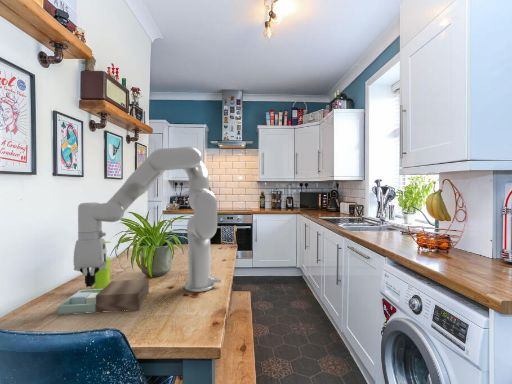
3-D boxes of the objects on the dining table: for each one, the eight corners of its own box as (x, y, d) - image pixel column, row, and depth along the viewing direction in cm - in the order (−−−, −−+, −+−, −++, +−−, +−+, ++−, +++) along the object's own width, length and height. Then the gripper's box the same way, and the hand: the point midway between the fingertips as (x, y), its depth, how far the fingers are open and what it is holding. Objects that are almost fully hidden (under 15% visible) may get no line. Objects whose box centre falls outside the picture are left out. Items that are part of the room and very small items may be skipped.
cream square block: (106, 299, 108) (106, 292, 108) (101, 304, 103) (101, 297, 103) (92, 300, 108) (91, 292, 108) (86, 305, 103) (86, 297, 103)
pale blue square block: (78, 292, 108) (78, 299, 108) (70, 297, 103) (70, 305, 103) (91, 292, 108) (91, 299, 108) (85, 297, 103) (85, 304, 103)
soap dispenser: (114, 286, 125) (114, 240, 125) (102, 291, 118) (102, 243, 118) (103, 285, 127) (103, 240, 127) (91, 290, 120) (90, 243, 120)
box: (111, 295, 114) (111, 288, 114) (95, 312, 98) (95, 304, 98) (79, 297, 112) (79, 289, 112) (58, 315, 96) (57, 306, 96)
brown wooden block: (148, 293, 116) (148, 279, 116) (138, 310, 100) (138, 293, 100) (112, 295, 114) (112, 280, 114) (96, 312, 98) (95, 295, 98)
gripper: (115, 234, 110) (115, 281, 110) (73, 235, 108) (73, 283, 108) (107, 237, 102) (108, 288, 102) (62, 238, 100) (62, 290, 100)
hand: (90, 285), depth 105 cm, fingers closed
